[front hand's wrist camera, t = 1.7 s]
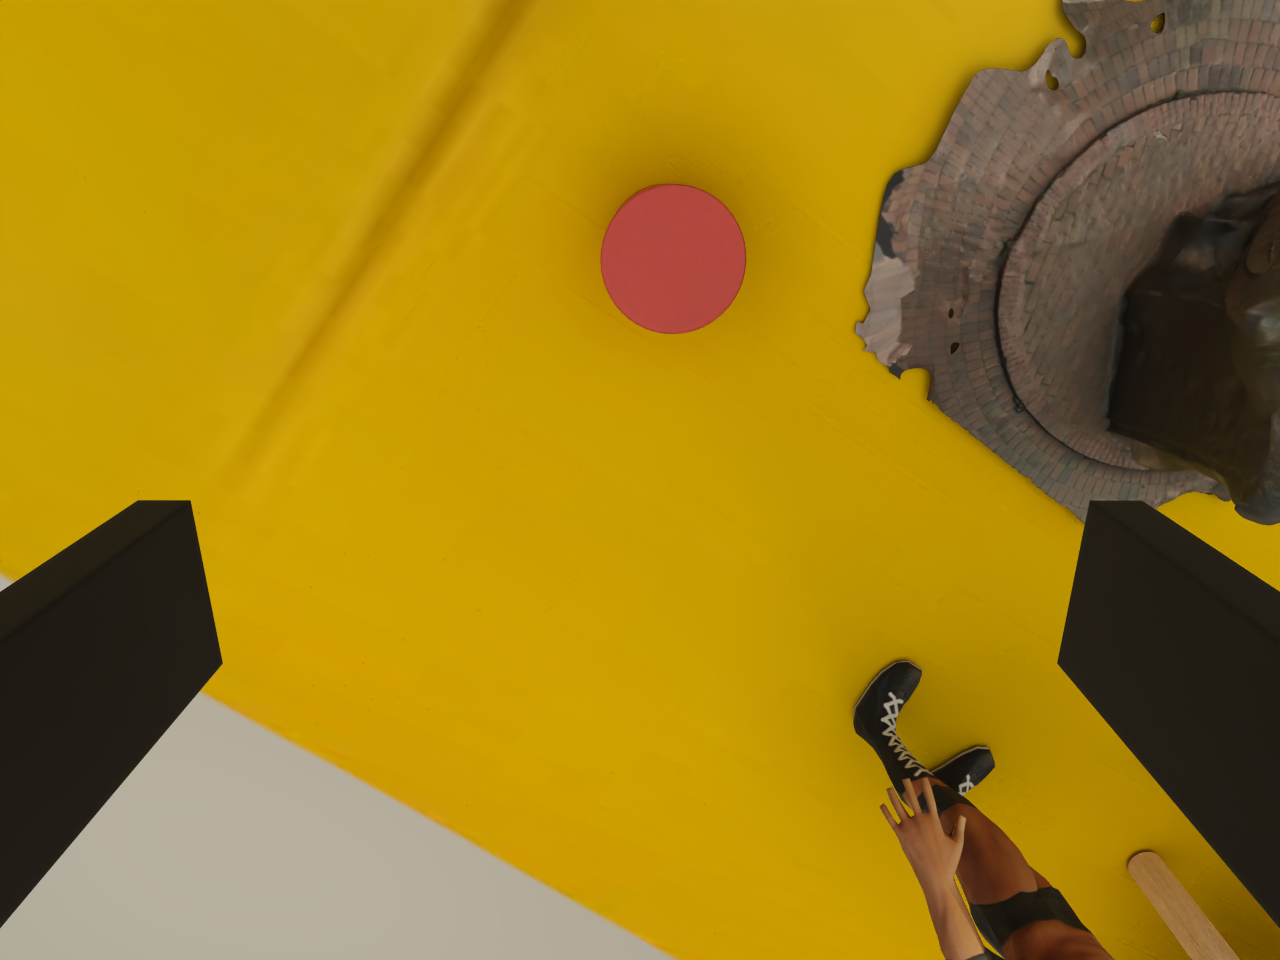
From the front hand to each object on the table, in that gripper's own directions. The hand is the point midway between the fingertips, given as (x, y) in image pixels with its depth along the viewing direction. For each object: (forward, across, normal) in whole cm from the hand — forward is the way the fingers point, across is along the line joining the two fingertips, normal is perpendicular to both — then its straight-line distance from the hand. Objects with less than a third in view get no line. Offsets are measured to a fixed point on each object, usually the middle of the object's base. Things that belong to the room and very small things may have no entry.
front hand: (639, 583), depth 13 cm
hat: (+39, +31, 0) cm, 49 cm away
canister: (+39, +2, +2) cm, 39 cm away
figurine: (+38, +20, -31) cm, 53 cm away
